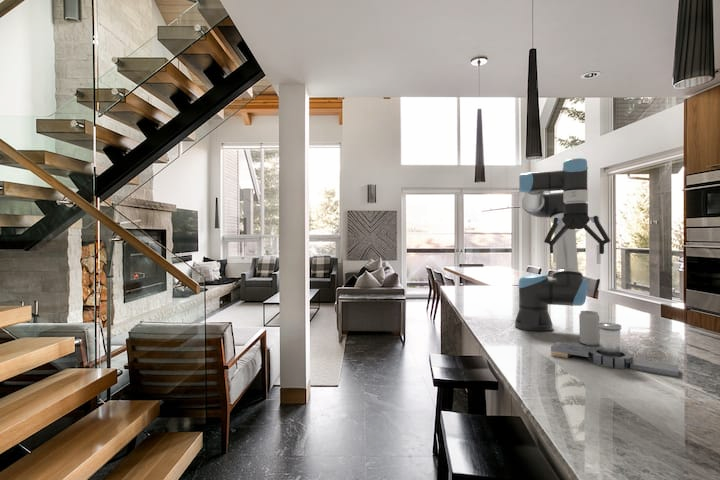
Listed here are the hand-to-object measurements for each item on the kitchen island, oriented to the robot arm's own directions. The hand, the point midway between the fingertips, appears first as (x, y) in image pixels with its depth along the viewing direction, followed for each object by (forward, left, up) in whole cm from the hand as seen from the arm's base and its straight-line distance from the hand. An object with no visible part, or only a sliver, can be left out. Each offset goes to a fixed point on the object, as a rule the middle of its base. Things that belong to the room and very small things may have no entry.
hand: (576, 263), depth 134 cm
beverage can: (+2, +11, -31) cm, 33 cm away
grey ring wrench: (+11, -9, -31) cm, 34 cm away
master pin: (+11, -9, -31) cm, 34 cm away
